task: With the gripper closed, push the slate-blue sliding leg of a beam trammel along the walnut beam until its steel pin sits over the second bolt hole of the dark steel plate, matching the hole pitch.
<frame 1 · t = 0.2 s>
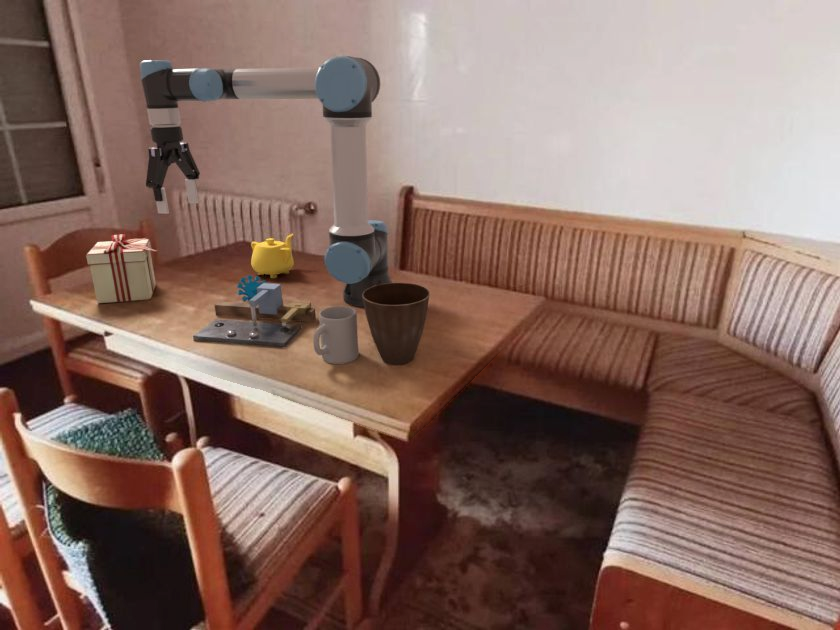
hand: (179, 208, 158), 28 cm above the table, fingers open, 13 cm apart
gift box: (133, 293, 177), on the table
mug: (335, 359, 135), on the table
hole plate: (248, 334, 147), on the table
sliding leg: (263, 304, 152), point 5 cm above the table, slide at 0.0 cm
fixed leg: (300, 319, 157), resting on beam
beam: (265, 316, 158), on the table
plant pot: (397, 358, 135), on the table
gear: (257, 303, 169), on the table
teapot: (278, 272, 195), on the table
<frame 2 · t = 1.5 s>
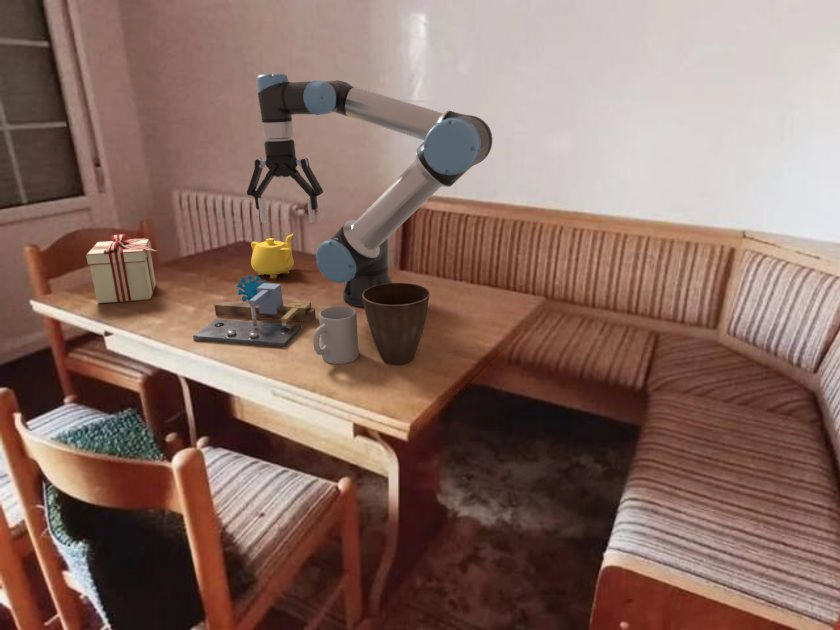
hand: (288, 221, 156), 24 cm above the table, fingers open, 13 cm apart
nothing on the table moved.
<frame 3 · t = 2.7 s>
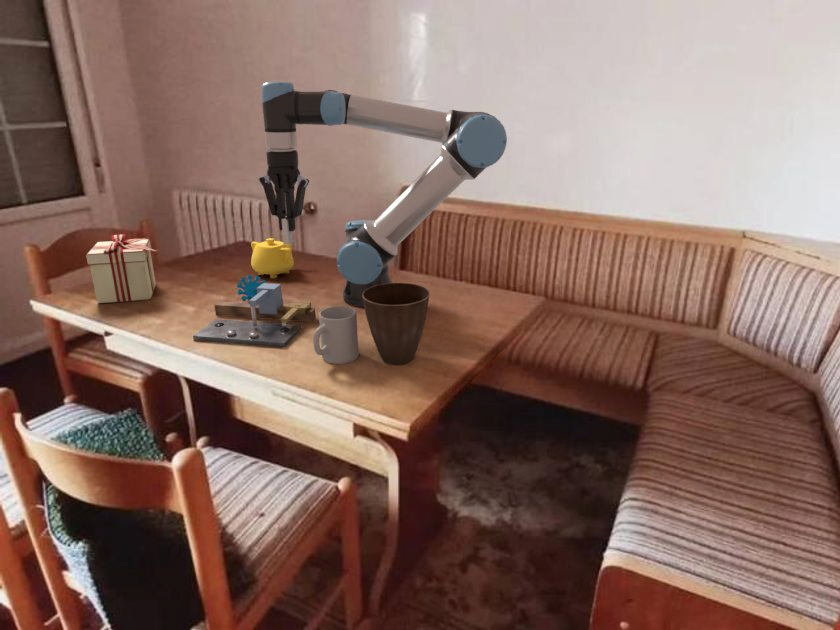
hand: (288, 242, 152), 20 cm above the table, fingers closed
nothing on the table moved.
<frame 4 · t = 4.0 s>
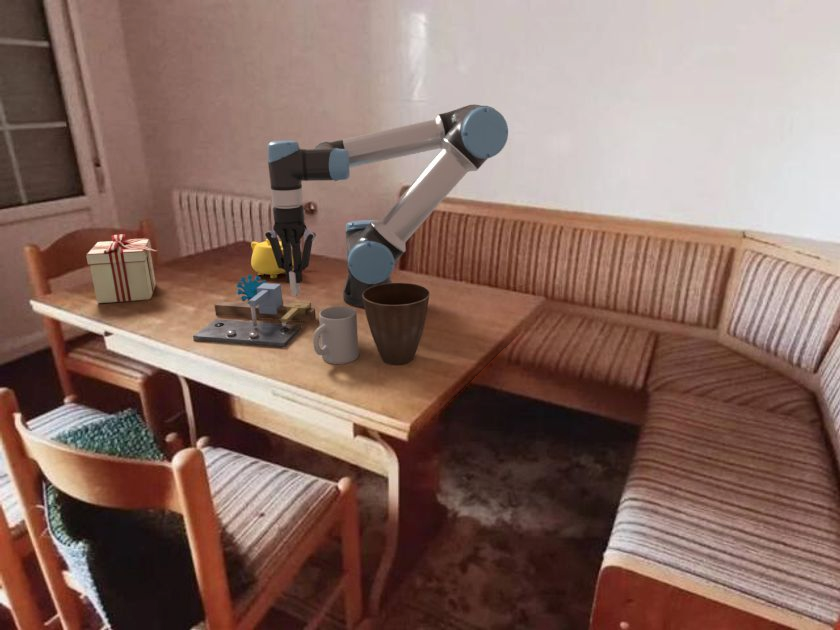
hand: (295, 294, 154), 7 cm above the table, fingers closed
nothing on the table moved.
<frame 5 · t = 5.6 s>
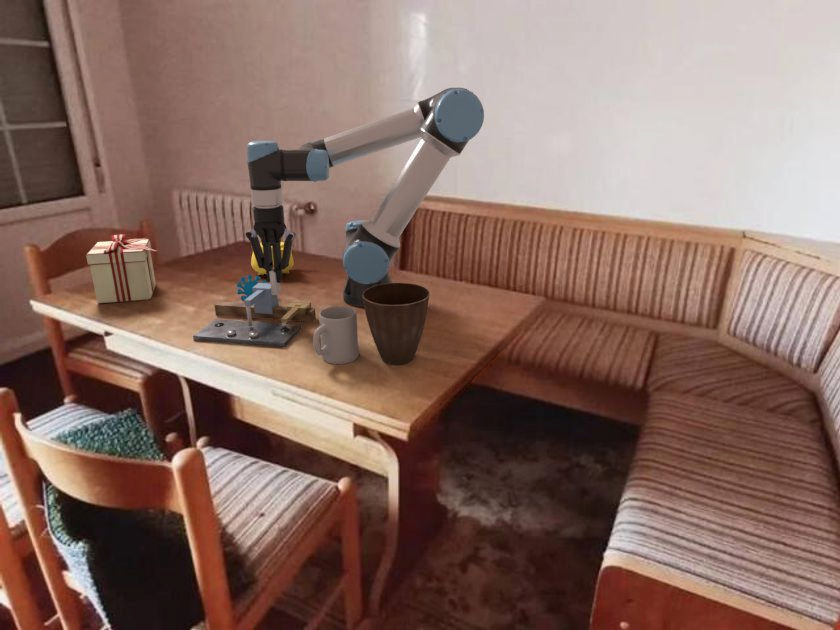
hand: (276, 293, 155), 7 cm above the table, fingers closed
sliding leg: (259, 304, 153), point 5 cm above the table, slide at 1.3 cm, touching gripper
everything else where it was.
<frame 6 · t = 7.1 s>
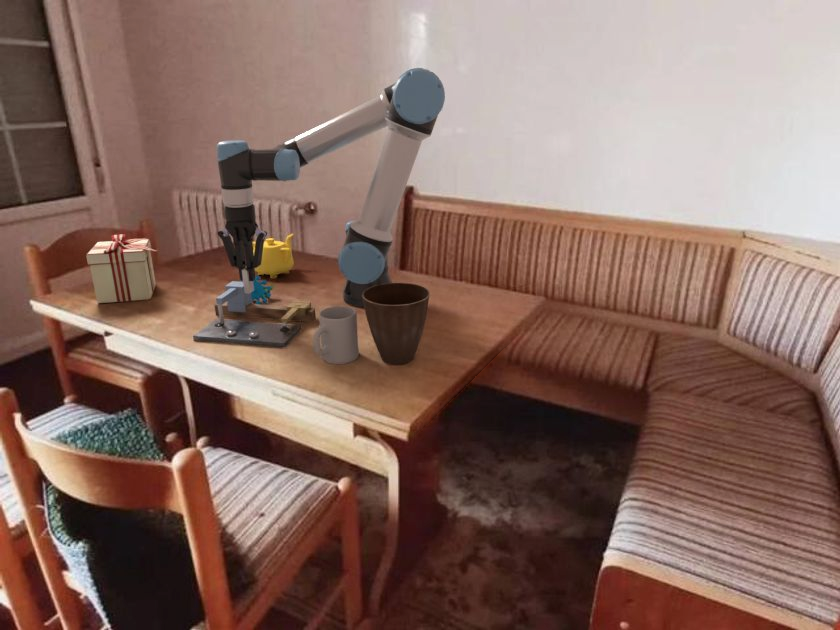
hand: (249, 291, 156), 7 cm above the table, fingers closed
sliding leg: (231, 302, 154), point 5 cm above the table, slide at 9.1 cm, touching gripper
everything else where it was.
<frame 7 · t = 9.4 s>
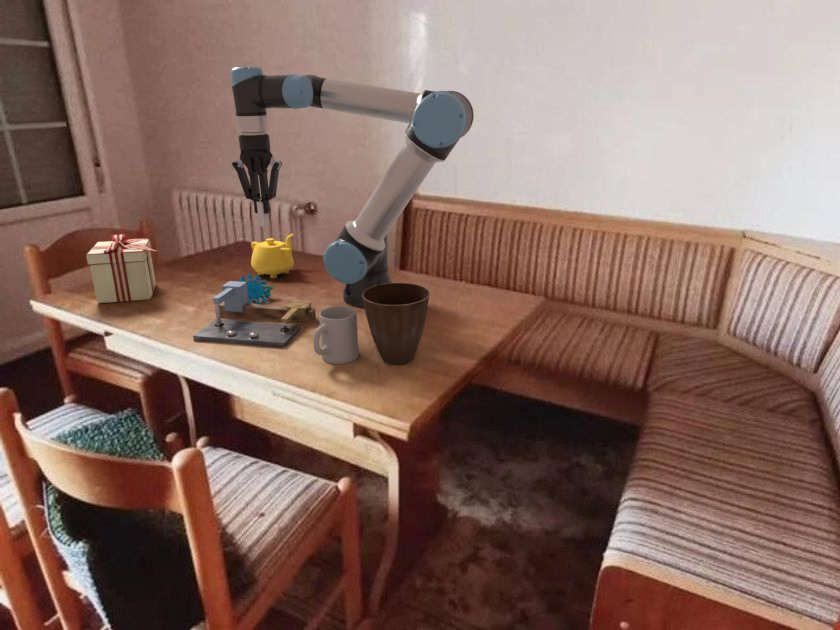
hand: (264, 225, 156), 24 cm above the table, fingers closed
sliding leg: (228, 301, 154), point 5 cm above the table, slide at 9.9 cm
everything else where it was.
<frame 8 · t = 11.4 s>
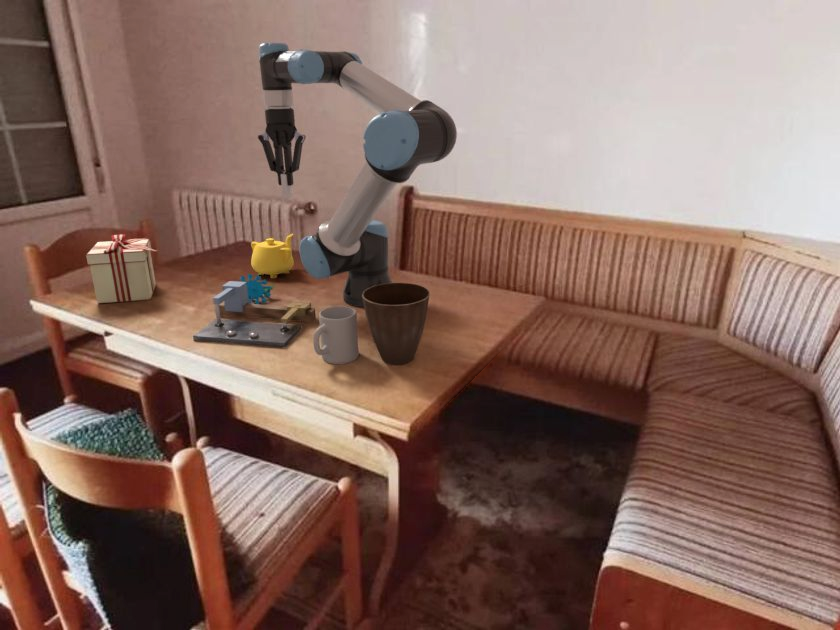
hand: (287, 197, 162), 29 cm above the table, fingers closed
at the end: sliding leg slide at 9.9 cm; sliding leg touching nothing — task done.
